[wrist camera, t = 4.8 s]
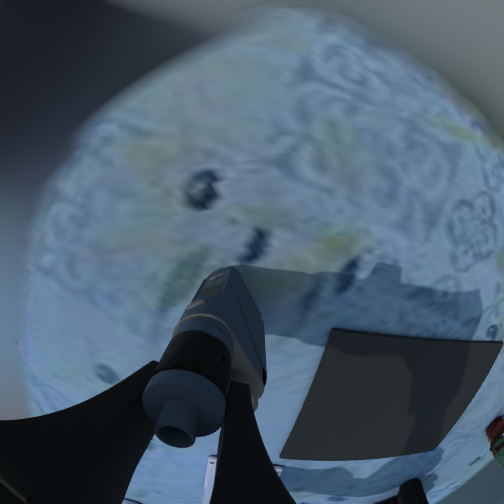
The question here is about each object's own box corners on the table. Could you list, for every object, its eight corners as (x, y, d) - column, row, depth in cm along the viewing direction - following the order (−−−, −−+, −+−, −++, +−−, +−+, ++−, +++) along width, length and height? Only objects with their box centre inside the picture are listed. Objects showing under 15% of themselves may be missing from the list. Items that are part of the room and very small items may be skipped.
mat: (432, 448, 21) (433, 450, 21) (279, 455, 22) (279, 458, 21) (502, 341, 17) (504, 343, 17) (332, 327, 18) (333, 330, 18)
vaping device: (233, 256, 17) (189, 391, 5) (269, 326, 18) (283, 490, 6) (196, 274, 17) (108, 410, 5) (234, 340, 18) (213, 500, 6)
